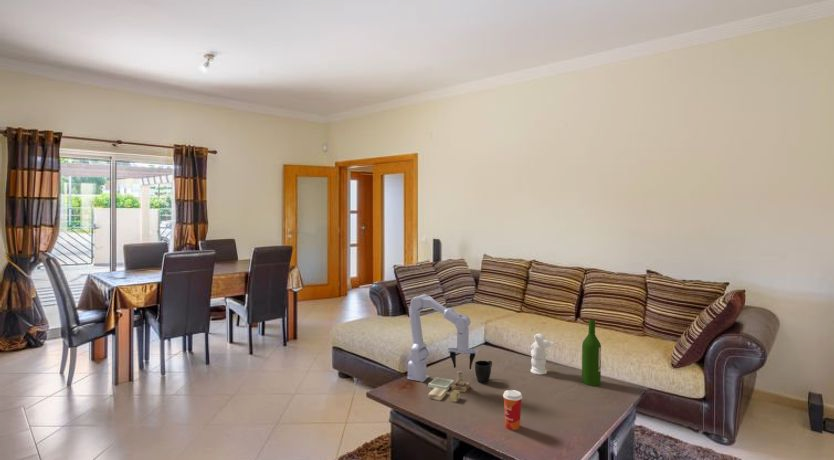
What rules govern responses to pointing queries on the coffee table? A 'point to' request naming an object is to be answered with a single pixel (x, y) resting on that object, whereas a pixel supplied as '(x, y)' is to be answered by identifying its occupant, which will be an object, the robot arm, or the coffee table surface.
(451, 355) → the robot arm
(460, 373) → the dowel
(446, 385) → the tray
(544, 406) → the coffee table surface
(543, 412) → the coffee table surface
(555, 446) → the coffee table surface
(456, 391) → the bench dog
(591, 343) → the wine bottle
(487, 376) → the mug
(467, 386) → the socket block
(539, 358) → the cherub figurine
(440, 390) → the beige rectangular box
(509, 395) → the paper cup
